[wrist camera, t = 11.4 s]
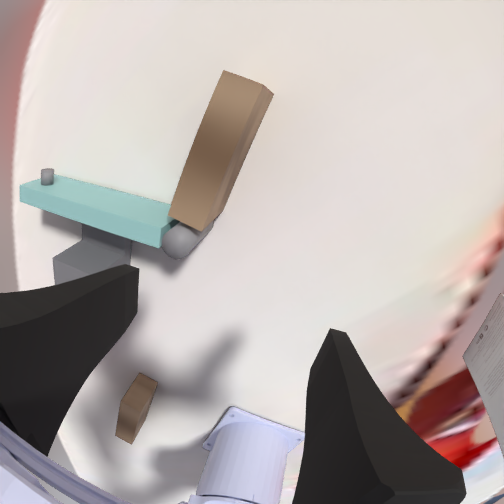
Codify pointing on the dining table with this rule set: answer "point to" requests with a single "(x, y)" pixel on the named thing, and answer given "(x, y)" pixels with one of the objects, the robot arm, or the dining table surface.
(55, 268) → the door stop
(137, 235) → the door
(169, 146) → the dining table surface
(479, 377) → the small box
